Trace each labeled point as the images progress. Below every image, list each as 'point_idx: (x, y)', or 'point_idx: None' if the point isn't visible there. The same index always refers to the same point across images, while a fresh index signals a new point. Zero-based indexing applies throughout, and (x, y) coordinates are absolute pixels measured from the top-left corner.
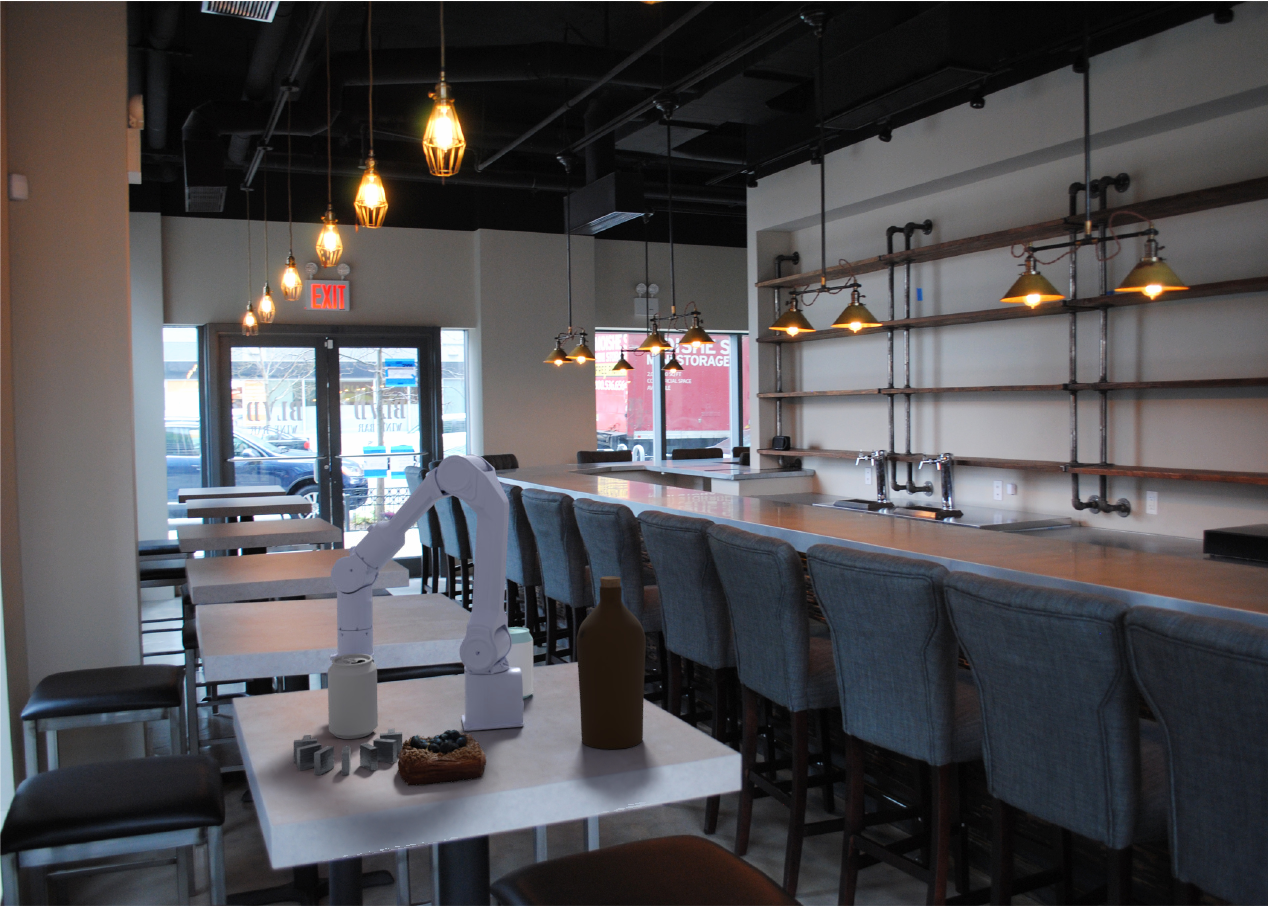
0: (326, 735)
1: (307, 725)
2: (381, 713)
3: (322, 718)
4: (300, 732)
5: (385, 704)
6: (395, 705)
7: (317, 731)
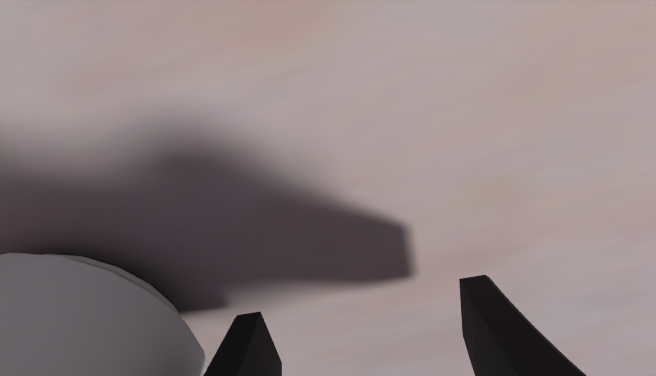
0: (26, 211)
1: (224, 9)
2: (457, 350)
3: (413, 70)
4: (33, 15)
5: (634, 333)
6: (592, 371)
7: (90, 134)
